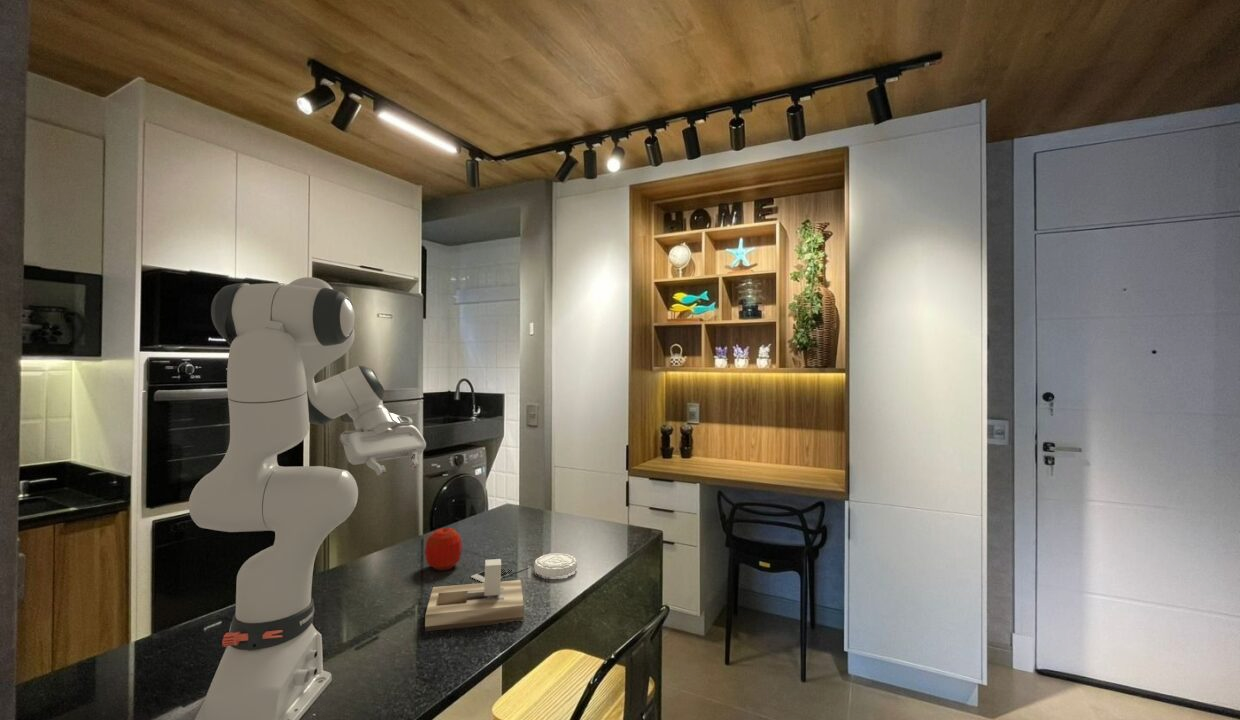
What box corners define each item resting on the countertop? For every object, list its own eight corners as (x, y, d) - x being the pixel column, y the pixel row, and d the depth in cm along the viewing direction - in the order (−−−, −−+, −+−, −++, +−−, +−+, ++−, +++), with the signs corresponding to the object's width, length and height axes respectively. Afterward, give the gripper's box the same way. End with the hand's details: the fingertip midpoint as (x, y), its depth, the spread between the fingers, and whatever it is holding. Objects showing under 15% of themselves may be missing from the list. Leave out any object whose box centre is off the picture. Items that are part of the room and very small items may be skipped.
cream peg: (502, 609, 117) (503, 565, 118) (481, 611, 116) (482, 566, 116) (501, 599, 122) (503, 557, 122) (481, 601, 121) (482, 559, 121)
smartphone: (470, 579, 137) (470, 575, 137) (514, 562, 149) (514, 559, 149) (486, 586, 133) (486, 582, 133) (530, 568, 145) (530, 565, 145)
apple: (443, 558, 151) (444, 519, 151) (469, 564, 146) (470, 524, 147) (416, 570, 142) (417, 528, 142) (443, 577, 137) (444, 534, 138)
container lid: (558, 584, 135) (558, 570, 135) (525, 574, 141) (525, 561, 141) (585, 569, 145) (585, 557, 145) (552, 560, 151) (553, 548, 151)
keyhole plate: (523, 621, 114) (523, 605, 114) (424, 631, 109) (425, 614, 109) (520, 594, 128) (520, 579, 128) (432, 602, 123) (433, 587, 123)
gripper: (342, 423, 121) (365, 469, 115) (415, 417, 138) (439, 456, 133) (331, 440, 123) (353, 486, 118) (405, 432, 140) (427, 471, 135)
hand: (399, 470), depth 125 cm, fingers open, 8 cm apart
